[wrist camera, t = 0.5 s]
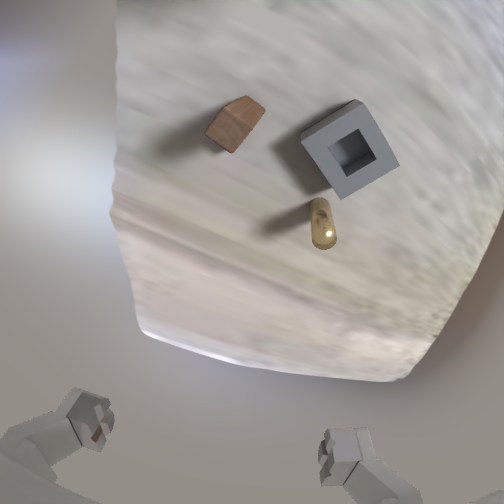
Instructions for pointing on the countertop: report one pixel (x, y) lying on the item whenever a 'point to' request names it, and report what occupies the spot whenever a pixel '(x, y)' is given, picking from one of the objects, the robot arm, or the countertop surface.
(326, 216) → the brass pin
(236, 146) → the wooden block
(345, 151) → the hole holder
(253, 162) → the countertop surface
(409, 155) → the countertop surface
